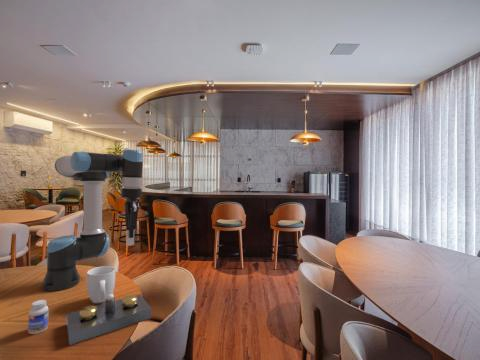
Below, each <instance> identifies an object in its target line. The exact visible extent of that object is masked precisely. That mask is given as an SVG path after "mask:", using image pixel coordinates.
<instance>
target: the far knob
mask: <svg viewBox="0 0 480 360" xmlns="http://www.w3.org/2000/svg"><path fill="white" fill-rule="evenodd" d="M122 299H123V307H124V308H126V309H130V308H133V307H134V306H135V305H136V304H137V296H135V295H134V294H131V295H126V296H125V297H123V298H122Z"/></svg>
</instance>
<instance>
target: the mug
mask: <svg viewBox="0 0 480 360" xmlns="http://www.w3.org/2000/svg"><path fill="white" fill-rule="evenodd" d="M115 286H116V268H115V267H114V266H113V265H111V266H110V265H102V266H101V265H100V266H97V267H93V268H90V269H89V270H87V272H86V291H87V294H88V297H89V299H90V301H91V302H92V303H93V304H104V303H105V300H106V299H107V295H108V294H114V293H113V292H114V290H115Z"/></svg>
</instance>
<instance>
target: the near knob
mask: <svg viewBox="0 0 480 360" xmlns="http://www.w3.org/2000/svg"><path fill="white" fill-rule="evenodd" d="M96 306H97V305H88V306H85V307H82V308H81V309H79V310H80V320H84V322H85V321H89V320H92V319H93V318H94V317H95V316H96V315H97V307H96Z"/></svg>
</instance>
